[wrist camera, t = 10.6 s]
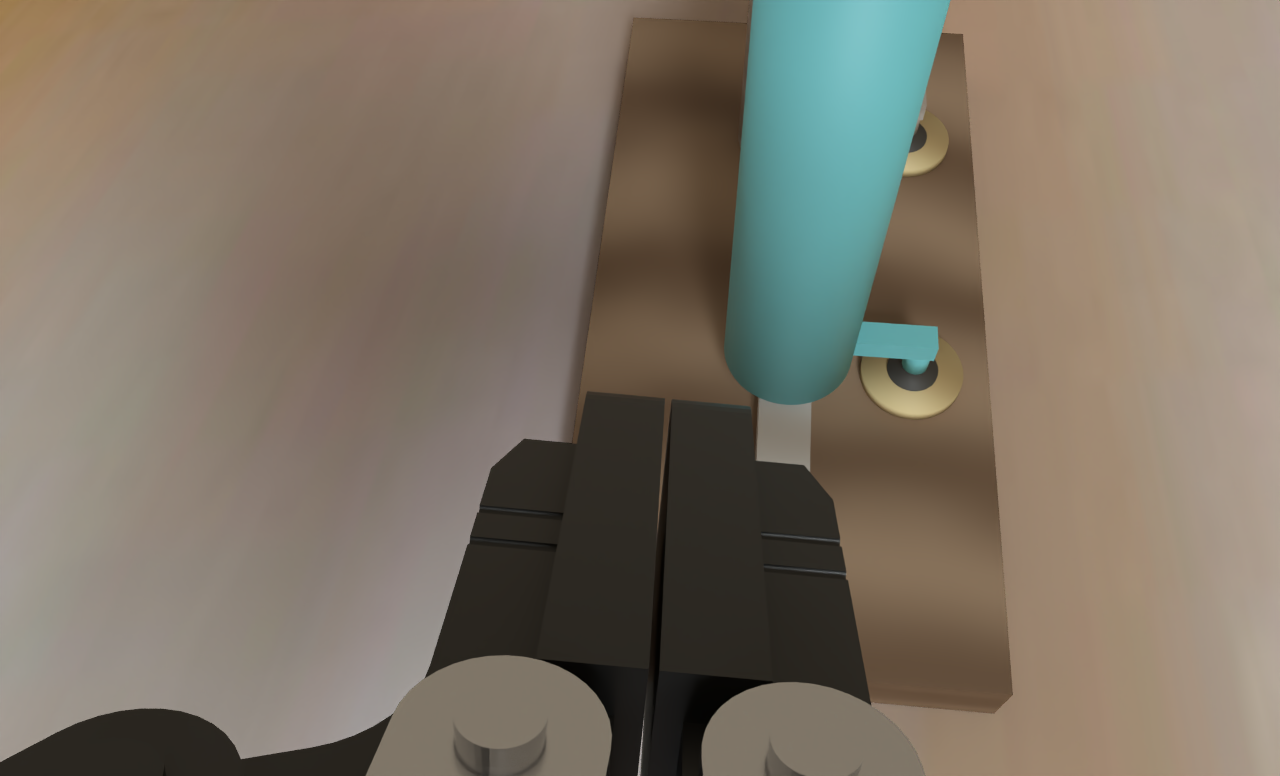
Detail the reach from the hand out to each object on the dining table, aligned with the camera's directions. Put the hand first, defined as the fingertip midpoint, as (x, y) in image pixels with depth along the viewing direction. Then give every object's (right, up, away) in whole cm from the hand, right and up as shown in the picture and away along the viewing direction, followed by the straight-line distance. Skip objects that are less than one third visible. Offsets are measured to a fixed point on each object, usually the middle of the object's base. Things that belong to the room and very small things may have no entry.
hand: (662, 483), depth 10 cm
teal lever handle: (+6, +2, +24) cm, 25 cm away
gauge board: (+5, +3, +28) cm, 29 cm away
